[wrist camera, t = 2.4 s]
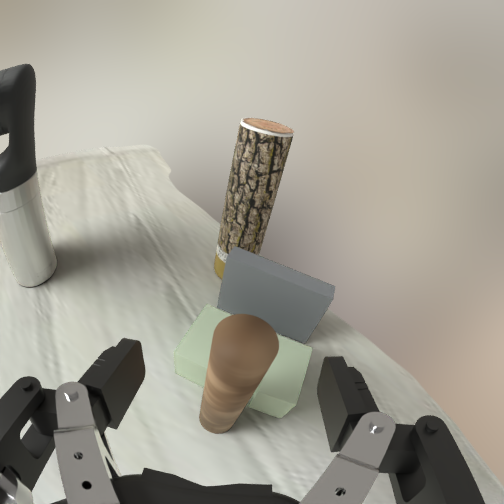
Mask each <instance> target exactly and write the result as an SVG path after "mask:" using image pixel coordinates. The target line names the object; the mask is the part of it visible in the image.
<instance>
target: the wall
mask: <svg viewBox="0 0 504 504" xmlns="http://www.w3.org/2000/svg"><path fill="white" fill-rule="evenodd" d="M334 291H335V286H333V285H331V284H328V283H326V282H323V281H321V280H318V279H316V278H313V277H311V276H308V275H306V274H303V273H301V272H298V271H296V270H293V269H291V268H288V267H286V266H283V265H281V264H278V263H276V262H273V261H271V260H268V259H266V258H264V257H261V256H259V255H256V254H254V253H251V252H249V251H246V250H244V249H241V248H239V247H236V246H234V247H233V249H232V250H231V251H230V253H229V254H228V255H227V258H226V263H225V268H224V273H223V278H222V284H221V289H220V294H219V300H218V305H217V307H218V308H220V309H222V310H224V311H227V312H229V313H231V314H234V315H235V314H249V315H253V316H256V317H259V318H261V319H263V320H264V321H266V322H267V323H268V324H269V325H270V326H271V327H272V328H273V329H274V331H275V332H276V333H279V334H281V335H284V336H286V337H289V338H291V339H294V340H297V341H299V342H302V343H304V344H305V343H306V341H307V340H308V338H309V337H310V335H311V334H312V332H313V331H314V329H315V327H316V326H317V324H318V323H319V321H320V320H321V318H322V316H323V315H324V313H325V312H326V310H327V308H328V307H329V305H330V304H331V302H332V300H333V297H334Z"/></svg>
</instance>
